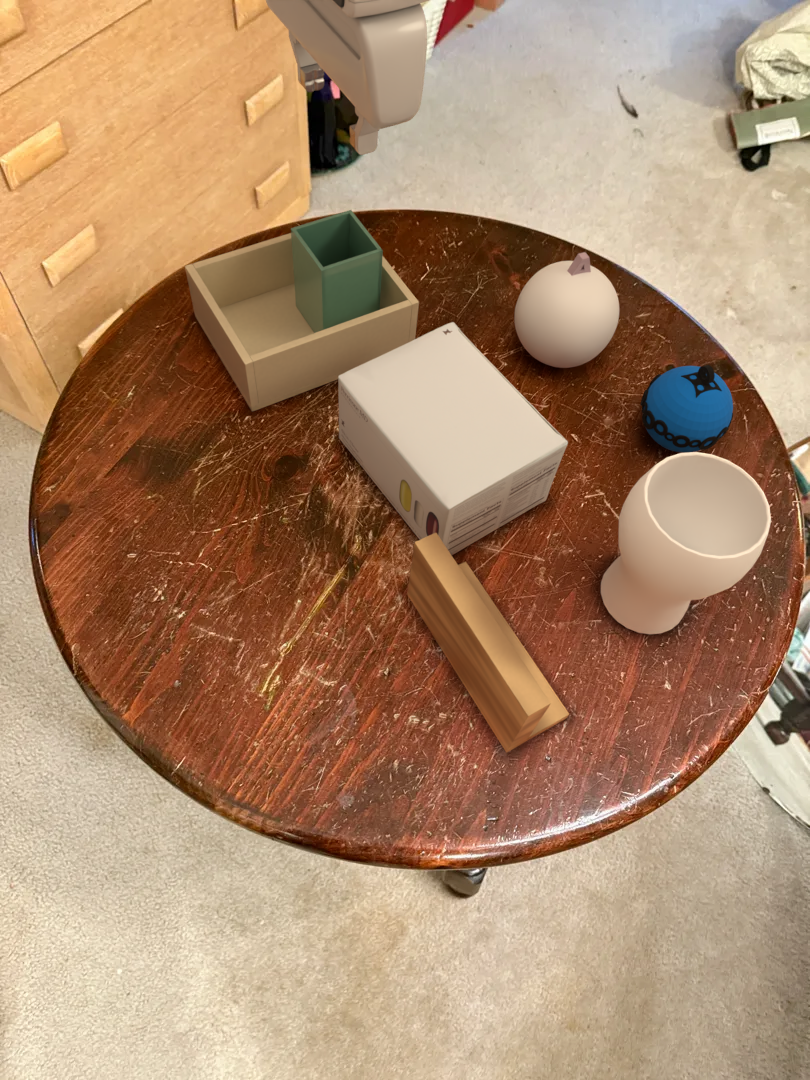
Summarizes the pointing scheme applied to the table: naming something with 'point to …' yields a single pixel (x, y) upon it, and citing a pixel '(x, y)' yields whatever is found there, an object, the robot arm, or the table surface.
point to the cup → (683, 539)
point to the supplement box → (447, 437)
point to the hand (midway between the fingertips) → (336, 116)
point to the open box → (287, 323)
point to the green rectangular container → (335, 270)
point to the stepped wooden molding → (481, 646)
